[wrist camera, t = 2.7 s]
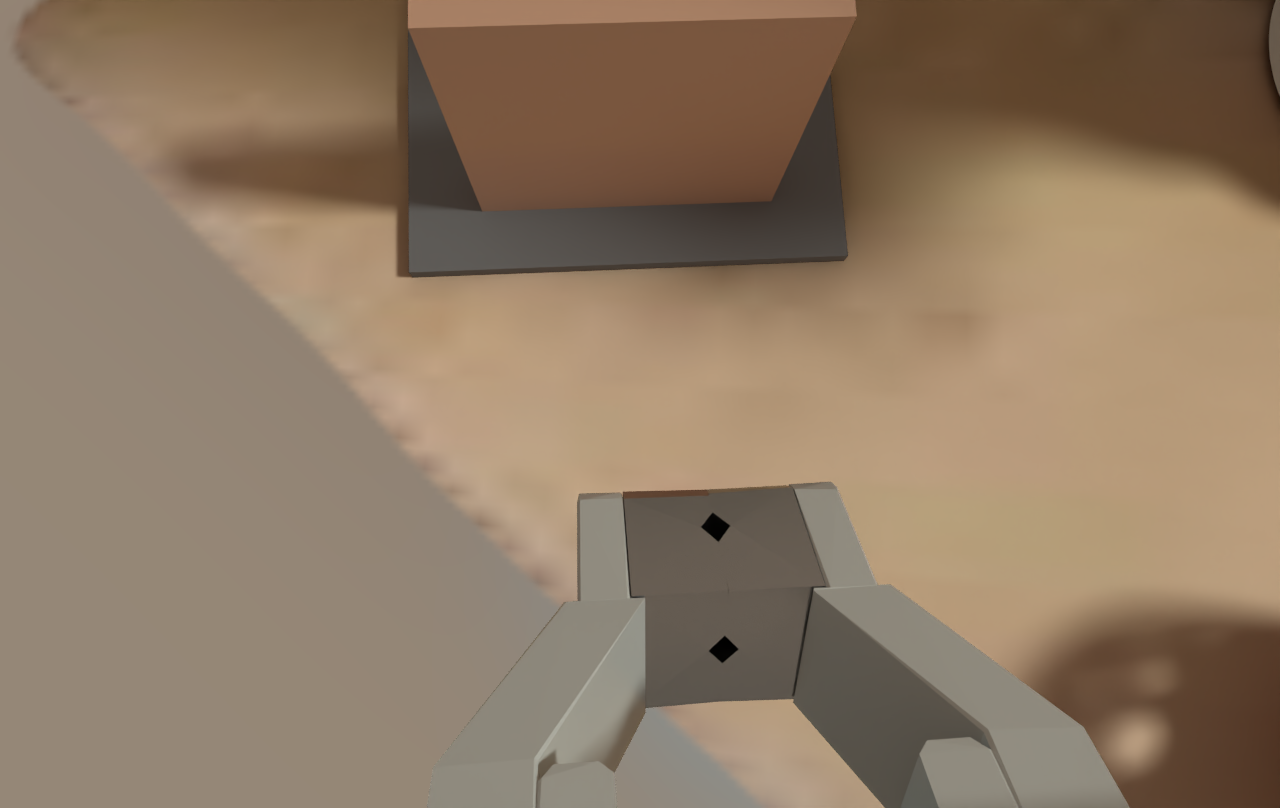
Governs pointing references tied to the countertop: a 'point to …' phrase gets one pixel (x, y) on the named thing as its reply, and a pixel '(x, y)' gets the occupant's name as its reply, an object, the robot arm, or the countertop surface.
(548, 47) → the tile
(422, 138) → the mat
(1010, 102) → the countertop surface
